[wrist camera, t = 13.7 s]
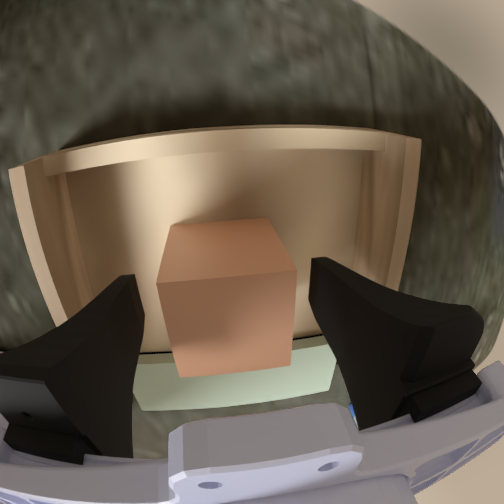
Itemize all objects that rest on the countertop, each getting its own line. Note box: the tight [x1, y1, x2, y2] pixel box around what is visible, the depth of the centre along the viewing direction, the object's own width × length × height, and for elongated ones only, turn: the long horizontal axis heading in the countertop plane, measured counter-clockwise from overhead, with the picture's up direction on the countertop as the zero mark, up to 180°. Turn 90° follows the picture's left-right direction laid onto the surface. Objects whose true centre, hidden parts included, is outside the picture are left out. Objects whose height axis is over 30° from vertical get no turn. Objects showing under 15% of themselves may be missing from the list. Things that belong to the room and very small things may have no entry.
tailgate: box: [133, 336, 336, 410], centre depth 18 cm, size 13×1×5 cm
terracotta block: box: [156, 218, 297, 377], centre depth 13 cm, size 4×4×5 cm
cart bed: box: [8, 125, 422, 352], centre depth 14 cm, size 16×12×4 cm
